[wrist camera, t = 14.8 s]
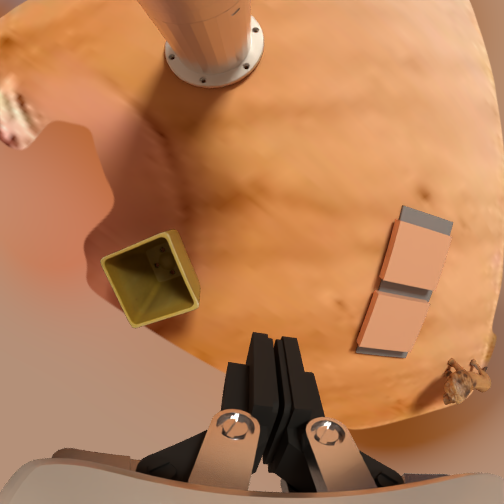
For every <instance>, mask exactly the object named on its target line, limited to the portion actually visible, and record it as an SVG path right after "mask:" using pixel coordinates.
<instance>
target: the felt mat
mask: <svg viewBox="0 0 504 504" xmlns="http://www.w3.org/2000/svg"><path fill="white" fill-rule="evenodd" d="M399 220H401V221H404V222H407V223H411V224H414V225H417V226H420V227H424V228H427V229H430V230H433V231H436V232H440V233H443V234H446V235H448V236H450V233H451V229H452V225H453V222H450V221H448V220H445V219H442V218H439V217H436V216H433V215H430V214H427V213H424V212H421V211H418V210H415V209H412V208H409V207H406V206H403V205H402V209H401V213H400V217H399ZM378 291H381V292H387V293H392V294H397V295H402V296H407V297H412V298H418V299H423V300H426V301H427V302H429V300H430V297H431V294H432V290H427V289H423V288H418V287H413V286H408V285H404V284H399V283H394V282H389V281H385V280H383V279H382V280H381V283H380V286H379V289H378ZM356 353H363V354H371V355H380V356H390V357H401V358H406V356H407V353H408V352H402V351H393V350H384V349H375V348H367V347H359V345H358V347H357V349H356Z"/></svg>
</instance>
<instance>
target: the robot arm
mask: <svg viewBox="0 0 504 504" xmlns="http://www.w3.org/2000/svg"><path fill="white" fill-rule="evenodd" d="M137 1H138V2H139V4H140V5H141V6H142V8H143V9H144V11H145V12H146V13H147V15H148V16H149V17H150V19H151V20H152V21H153V23H154V24H155V26H156V27H157V28H158V30H159V31H160V32H161V34H162V35H163V37H164V38H165V39H166V44H165V56H166V60H167V63H168V65H169V67H170V68H171V70H172V71H173V72H174V73H175V74H176V75H177V76H178V77H179V78H180V79H181V80H183V81H185V82H186V83H188V84H191V85H193V86H196V87H202V88H218V87H225V86H228V85H231V84H234V83H236V82H238V81H240V80H242V79H243V78H244V77H246V76H247V75H249V74H250V73H251V72H252V71H253V70H254V69H255V67H256V66H257V64H258V63H259V61H260V59H261V57H262V54H263V50H264V35H263V31H262V29H261V27H260V25H259V23H258V22H257V21H256V19H255V18H254V17H253V16H252V15H251V6H250V0H137ZM254 32H257V33H254ZM172 58H174V59H173V60H172ZM245 67H248V69H244V68H245ZM203 80H205V81H206V82H205V83H202V81H203ZM262 455H263V464H268V472H269V473H275V474H277V475H278V476H279V477H281V488H282V492H281V493H280V492H260V491H248V488H249V483H250V478H251V475H252V474H253V473H255V472H256V470H257V468H258V465H259V463H260V460H261V458H262ZM0 504H504V479H503V478H502V477H500V476H497V475H494V474H489V473H463V474H455V475H447V474H407V473H404V474H403V475H402V476H400V475H399V474H398V473H397V472H396V471H394V470H392V469H391V468H389V467H387V466H385V465H383V464H382V463H380V462H378V461H376V460H375V459H373V458H371V457H369V456H368V455H366V454H364V453H363V452H361V451H359V450H358V448H357V446H356V444H355V442H354V440H353V438H352V436H351V435H350V432H349V430H348V429H347V428H346V426H345V425H344V424H342V423H341V422H339V421H337V420H335V419H332V418H329V417H325V415H324V411H323V407H322V403H321V400H320V396H319V392H318V388H317V384H316V380H315V376H314V374H313V373H312V372H304V367H303V363H302V358H301V354H300V350H299V345H298V341H297V338H291V337H284V336H282V338H281V340H279V339H276V341H275V344H274V348H273V339H271V338H268V335H267V334H263V333H256V332H253V334H252V338H251V342H250V347H249V351H248V356H247V360H246V365H245V364H238V363H232V362H228V367H227V372H226V378H225V384H224V390H223V397H222V405H221V411H220V412H218V413H217V414H215V415H214V417H213V418H212V420H211V423H210V425H209V428H208V430H206V431H204V432H202V433H200V434H197V435H195V436H193V437H191V438H189V439H186V440H184V441H182V442H180V443H178V444H175V445H173V446H171V447H168V448H166V449H163V450H161V451H159V452H156V453H154V454H151V455H149V456H147V457H145V458H143V459H142V460H133V459H130V456H122V455H113V454H105V453H98V452H90V451H85V450H79V449H73V448H64V449H61V450H58V451H57V452H55V453H54V454H53V456H52V458H45V459H37V460H33V461H30V462H28V463H26V464H24V465H23V466H22V467H21V468H19V469H18V470H17V471H16V472H15V473H14V474H13V476H12V477H11V478H10V479H9V480H8V482H7V483H6V485H5V486H4V488H3V489H2V491H1V492H0Z"/></svg>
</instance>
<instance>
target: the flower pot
mask: <svg viewBox="0 0 504 504" xmlns="http://www.w3.org/2000/svg"><path fill="white" fill-rule="evenodd" d="M161 248H164V249H165V251H164V252H162V251H161ZM100 263H101V266H102V268H103V270H104V272H105V274H106V276H107V278H108V280H109V282H110V284H111V286H112V288H113V290H114V292H115V294H116V296H117V298H118V301H119V303H120V305H121V307H122V309H123V311H124V313H125V315H126V317H127V320H128V321H129V323H130V325H131V326H132V327H133V328H138V327H142V326H145V325H148V324H151V323H154V322H157V321H161V320H164V319H167V318H170V317H173V316H176V315H180V314H183V313H186V312H189V311H192V310H195V309H197V308H198V307H199V301H200V283H199V280H198V277H197V275H196V273H195V271H194V268H193V266H192V264H191V262H190V259H189V257H188V255H187V252H186V250H185V247H184V245H183V242H182V239H181V237H180V234H179V232H178V231H177V230H175V229H172V230H168V231H165V232H162V233H159V234H157V235H155V236H152V237H150V238H148V239H145V240H143V241H141V242H138V243H136V244H134V245H131V246H129V247H127V248H124V249H122V250H119V251H117V252H115V253H112V254H110V255H107V256H105V257H103V258H102V259H101V260H100ZM156 263H158V264H159V267H156V266H155V264H156ZM171 270H174V272H175V273H174V274H171Z"/></svg>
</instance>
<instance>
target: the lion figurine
mask: <svg viewBox="0 0 504 504" xmlns="http://www.w3.org/2000/svg"><path fill="white" fill-rule="evenodd" d="M448 364H450V365H451V366H452V367H454V368H455V369H456V372H454V373H452V372H451V371H446V372H445V373H444V376H445V377H447V376H449V378H448V380H447V382H446V383H445V385H444V391H445V392H446V394H444V395H443V397H444V403H445V405H447V404H449V403H455V402H456V403H457V404H459V403H462V402H463V401H464V400H465V399H466V398H467V396H468V395H469V393H470V392H471V391H472V390H474V389H476V390H479V391H480V392H486V391H487V390H488V389H490V387H491V380H490V378H489V376H488V375H487V373H485V371H486V369H487V367H484V369H483V370H482V369H481V368H480V366H479V365H478V364H477V363H476V361H475V359H473V360H472V361H471V363H470V364H471V365H473V366H474V367H475V368H476V369H477V370H478V372H479V374H477V373H475V372H472V371H466V370H465V369H463V368H462V367H461V366H460V365H459V364H457V363H456V362H455V360H454V359H453V358H451V359H450V360H449V361H448Z"/></svg>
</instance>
